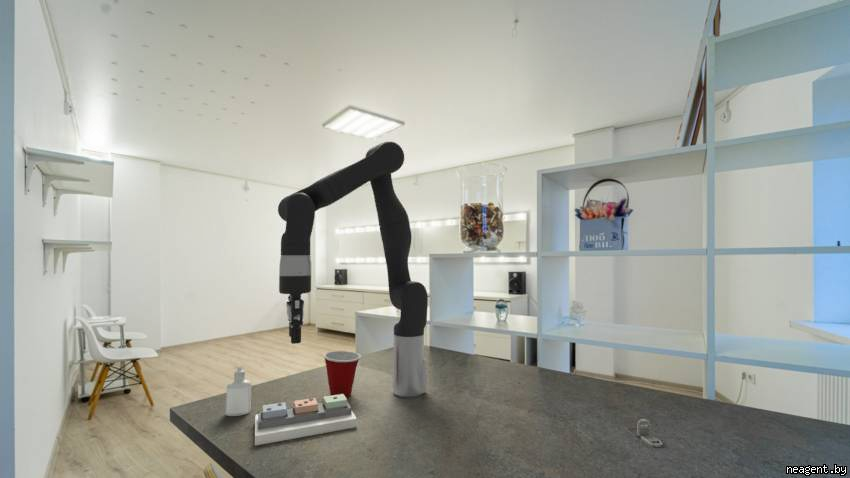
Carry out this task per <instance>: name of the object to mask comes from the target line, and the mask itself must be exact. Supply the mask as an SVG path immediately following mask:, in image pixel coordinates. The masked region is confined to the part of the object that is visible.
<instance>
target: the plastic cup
mask: <svg viewBox="0 0 850 478" xmlns="http://www.w3.org/2000/svg"><path fill="white" fill-rule="evenodd" d="M361 357H362V356H361V354H360V353H357V352H354V351H350V350H349V351H348V350H335V351H334V350H333V351H327V352H326V353H324V354H323V358H324V361H325V362H324V363H325V367H326V374H327V382H328V387H329V396H332V395H339V394H344V396H345V397H346V399H347V398H349V397H352V396H351V395H352V390H353V385H354V383H355V382H354V381H355V375H356V371H357V367H358V364H359V360H360V359H361Z"/></svg>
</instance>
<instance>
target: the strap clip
mask: <svg viewBox="0 0 850 478" xmlns="http://www.w3.org/2000/svg"><path fill="white" fill-rule="evenodd" d="M641 423H647V424H641ZM651 427H652V425H651V421H650V420H649V419H646V418H642V419H638V420H637V423H636V427H632V428H629V427H628V428H626V430H627V431H628V432H629V433H630V434H632V435H634V436H635V437H638V438H640V440H641V441H642V442H644V443H645V444H646V445H648V446H649V447H652V448H660V447H664V446H663V445H664V444H663V442H662V441H661V440H660V439H658V438H656V437H655V436H653V435H650V434H651Z"/></svg>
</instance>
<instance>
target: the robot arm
mask: <svg viewBox="0 0 850 478" xmlns="http://www.w3.org/2000/svg"><path fill="white" fill-rule="evenodd" d="M404 161H405V153H404V150H403V148H402V147H401V145H400V144H398V143H397V142H395V141H391V140H390V141H389V140H387V141H383V142H380V143H378V144H376V145H375V146H372V147H371V148H369V149H368V150H367V151H366V153H365V156H364V157H363V158H362V159H360V160H358V161H356V162H354V163H351V164H350V165H347V166H345V167H343V168H339V169H338V170H335V171H334V172H331V173H329V174H328V175H326V176H324V177H322V178H320V179H319V180H317V181H314V182H313V183H311V185H309V186H307V187H304V188H302V189H300V190H298V191H296V192H294V193H291V194H289V195H287V196H285V197H283V199H281V201H279V204H278V205H277V213H278V216H279V217H280V218H281V219H282V220H283V221H284V222H286V223H285V231H284V232H283V233H282V235H281V239H280V240H281V241H280V260H279V266H278V267H279V271H278V272H279V273H278V275H279V276H278V282H279V283H278V293H280V294H281V295H282V294H283V295H288V296H287V300H286V315H287V320H288V328H289V329H288V335H289V337H290V343H291V344H293V345H294V344H300V343H301V342H302V327H303V324H304V321H303V319H304V317H305V316H304V315H305V314H304V312H305V311H304V308H305V300H304V299H302V295H304V294H308V293H311V291H312V260H311V237H312V232H313V229H314V223H315V217H316V216H315V214H316V211H318V210H320V209H323V208H326V207H328V206H330V205H332V204H334V203H336V202H338V201H339V200H341V199H343V198H345V196H348V195H349V194H351V193H352V192H354V191H355V190H357V189H358V188H360V187H362V186H364V185H365V184H367V183H368V182H370V185H371V189H372V193H373V198H374V205H375V210H376V214H377V220H378V227H379V232H380V237H381V241H382V245H383V246H382V248H383V253H384V259H385V264H386V270H387V271H386V272H387V282H388V283H387V284H388V295H389V299H390V302H391V304H392V307H394V308H395V309H397V310H399V311H400V319H399V320H398V322H396V323H395V324H394V326H393V356H392V357H393V359H392V360H393V363H392V365H393V368H392V369H393V373H392V374H393V376H392V378H393V379H392V380H393V381H392V389H393V390H392V391H393V394H394V395H396V396H398V397H402V398H414V397H418V396H421V395H422V394H425V393H426V394H427V360H426V359H425V328H426V325H427V322H428V321H427V320H428V304H429V303H428V301H429V300H428V299H429V298H428V297H429V296H428V292H427V291H428V290H427V289H426V287H425V286H424V285H423V283H421V282H419V281H415V280H414V281H412V278H411V274H410V271H409V255H410V250H411V246H412V229H411V225H410V224H411V223H410V219H409V215H408V213H407V211H406V209H405V207H404V206H403V205H404V204H402V203H401V201H400V199H399V198H398V196H397V194H396V192H395V190H394V185H393V179H392V174H393V173H396V172H397V171H399V170H400V169H401V168H402V166H403V165H404V163H405V162H404Z"/></svg>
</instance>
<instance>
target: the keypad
mask: <svg viewBox="0 0 850 478" xmlns="http://www.w3.org/2000/svg"><path fill="white" fill-rule="evenodd" d="M317 403H318V411H312V412H305V413H299V414H295V410H294V406H292V407H286V408H287V413H286V416H280V417H273V418H267V419H263V411H259V412H258V414H255V417H254V418H255V419H254V421H255V423H254V446H260V445H266V444H271V443H277V442H283V441H287V440H293V439H299V438H304V437H309V436H315V435H316V436H317V435H321V434H325V433H326V434H327V433H331V432H336V431H338V432H339V431H342V430H348V429H353V428H357V427H358V426H357V425H358V424H357V422H358V421H357V419H358V418H357V417H356V415H355V414H354V412H353V410H352V407H351V405H350V403H349V402H348V401H347V406H344V407H337V408H331V409H326V407H325V405H324V403H323V402H317Z"/></svg>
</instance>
